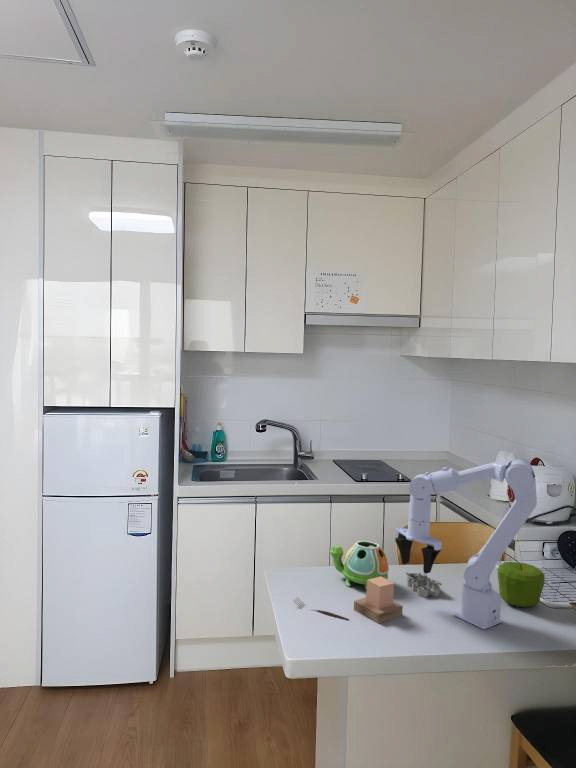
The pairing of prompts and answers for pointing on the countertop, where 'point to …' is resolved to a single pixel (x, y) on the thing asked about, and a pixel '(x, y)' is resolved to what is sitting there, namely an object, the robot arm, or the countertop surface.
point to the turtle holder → (361, 562)
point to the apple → (520, 583)
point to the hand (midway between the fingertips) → (416, 567)
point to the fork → (320, 610)
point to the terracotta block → (380, 592)
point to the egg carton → (419, 581)
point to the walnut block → (377, 611)
